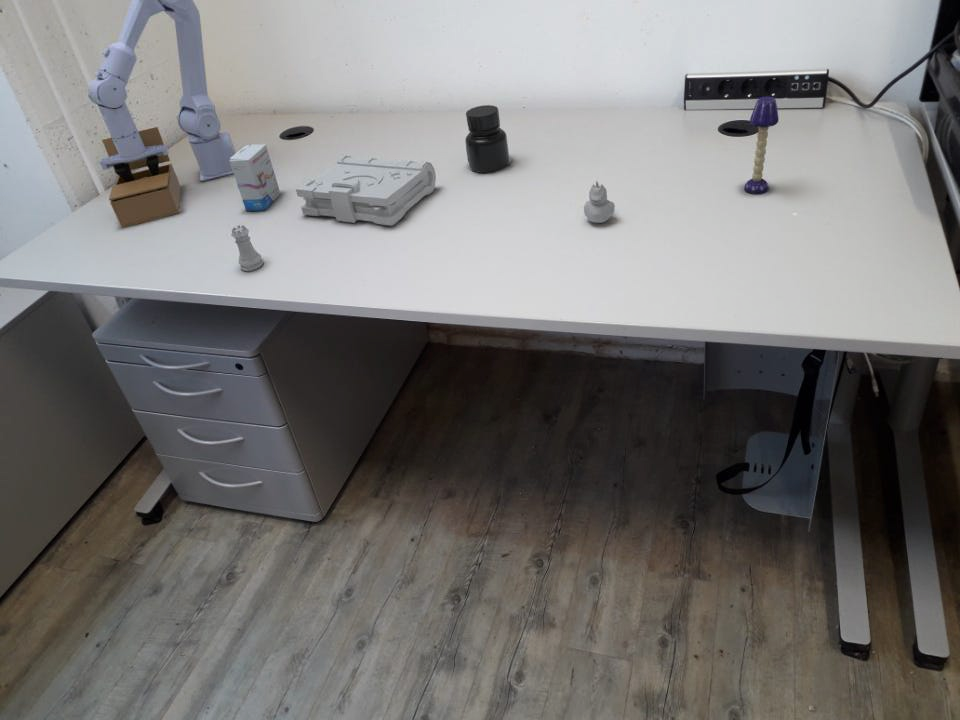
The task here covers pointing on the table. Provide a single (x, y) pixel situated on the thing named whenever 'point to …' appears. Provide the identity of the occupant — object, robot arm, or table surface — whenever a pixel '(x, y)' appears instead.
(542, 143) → the table surface
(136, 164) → the flap
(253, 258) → the rook chess piece
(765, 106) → the toy lamp
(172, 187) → the bin
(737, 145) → the table surface
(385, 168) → the book
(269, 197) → the ink box
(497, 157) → the ink bottle
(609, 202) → the rubber duck
